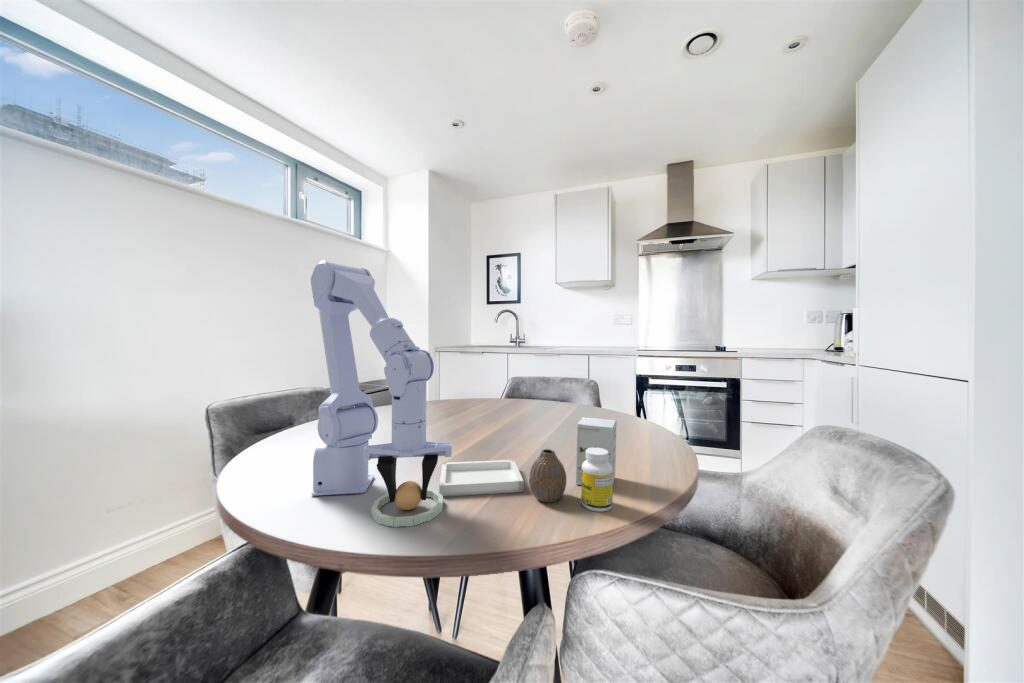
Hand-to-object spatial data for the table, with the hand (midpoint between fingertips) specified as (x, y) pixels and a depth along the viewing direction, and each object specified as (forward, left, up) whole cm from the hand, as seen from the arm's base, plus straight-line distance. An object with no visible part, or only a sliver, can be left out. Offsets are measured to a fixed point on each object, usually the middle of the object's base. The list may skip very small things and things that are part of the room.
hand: (408, 498), depth 61 cm
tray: (+13, +10, -2) cm, 16 cm away
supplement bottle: (+33, -3, -2) cm, 33 cm away
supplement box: (+37, +7, -2) cm, 38 cm away
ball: (0, 0, +1) cm, 1 cm away
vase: (+25, +1, -2) cm, 25 cm away
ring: (0, 0, -2) cm, 2 cm away
